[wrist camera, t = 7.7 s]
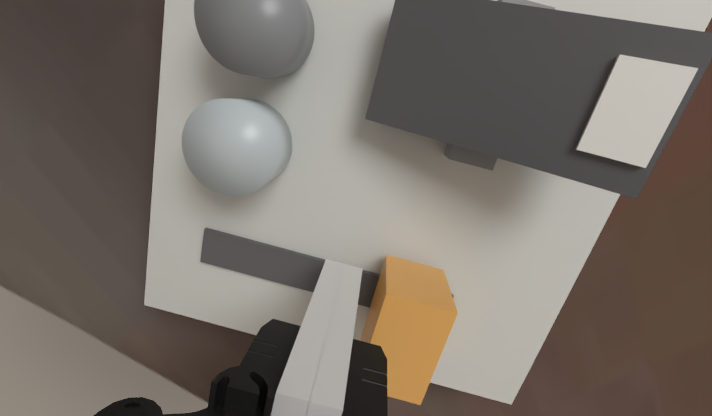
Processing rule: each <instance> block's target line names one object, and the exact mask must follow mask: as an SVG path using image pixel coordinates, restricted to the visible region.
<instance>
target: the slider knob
mask: <svg viewBox="0 0 712 416" xmlns="http://www.w3.org/2000/svg"><path fill="white" fill-rule="evenodd" d="M457 314H458V312H457V309H456V306H455V303H454V300H453V297H452V294H451V291H450V288H449V285H448V282H447V279H446V276H445V273H444V270H442V269H439V268H435V267H431V266H427V265H424V264H420V263H416V262H413V261H409V260H405V259H401V258H398V257H394V256H390V255H387V254H386V257H385V261H384V264H383V267H382V270H381V274H380V277H379V280H378V283H377V286H376V290H375V293H374V296H373V299H372V302H371V306H370V309H369V312H368V315H367V319H366V322H365V325H364V328H363V331H362V336H361V341H363V342H367V343H371V344H375V345H378V346H381V348H382V350H383V352H384V354H385V356H386V358H387V396H389V397H393V398H396V399H400V400H404V401H407V402H411V403H415V404H418V405H421V403H422V400H423V398H424V395H425V393H426V390H427V388H428V385H429V383H430V381H431V378H432V376H433V373H434V371H435V368H436V366H437V363H438V361H439V359H440V356H441V354H442V351H443V349H444V346H445V344H446V341H447V339H448V336H449V334H450V332H451V329H452V327H453V324H454V322H455V319H456V317H457Z"/></svg>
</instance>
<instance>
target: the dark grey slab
mask: <svg viewBox="0 0 712 416" xmlns="http://www.w3.org/2000/svg"><path fill="white" fill-rule="evenodd" d="M711 59H712V33H709V32H703V31H696V30H689V29H682V28H676V27H669V26H662V25H655V24H649V23H642V22H635V21H628V20H622V19H615V18H608V17H601V16H595V15H588V14H581V13H574V12H568V11H561V10H554V9H547V8H541V7H534V6H527V5H520V4H513V3H507V2H500V1H493V0H395V3H394V7H393V11H392V15H391V18H390V22H389V26H388V30H387V34H386V38H385V42H384V46H383V50H382V54H381V58H380V62H379V66H378V70H377V74H376V77H375V81H374V85H373V89H372V93H371V97H370V101H369V105H368V109H367V113H366V117H365V119H367V120H370V121H374V122H377V123H380V124H384V125H387V126H391V127H394V128H397V129H401V130H404V131H408V132H411V133H414V134H418V135H421V136H425V137H428V138H431V139H435V140H438V141H441V142H445V143H448V144H452V145H455V146H458V147H462V148H465V149H469V150H472V151H475V152H479V153H482V154H486V155H489V156H492V157H496V158H499V159H503V160H506V161H509V162H513V163H516V164H519V165H523V166H526V167H530V168H533V169H536V170H540V171H543V172H547V173H550V174H553V175H557V176H560V177H564V178H567V179H570V180H574V181H577V182H580V183H584V184H587V185H591V186H594V187H597V188H601V189H604V190H608V191H611V192H614V193H618V194H621V195H625V196H628V197H631V198H635V199H637V197H638V196H639V194H640V192H641V190H642V188H643V186H644V184H645V182H646V181H647V179H648V177H649V175H650V173H651V171H652V169H653V168H654V166H655V164H656V162H657V160H658V158H659V156H660V154H661V153H662V151H663V149H664V147H665V145H666V143H667V141H668V139H669V138H670V136H671V134H672V132H673V130H674V128H675V126H676V125H677V123H678V121H679V119H680V117H681V115H682V113H683V111H684V110H685V108H686V106H687V104H688V102H689V100H690V98H691V97H692V95H693V93H694V91H695V89H696V87H697V85H698V83H699V82H700V80H701V78H702V76H703V74H704V72H705V70H706V68H707V67H708V65H709V63H710V61H711Z"/></svg>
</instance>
